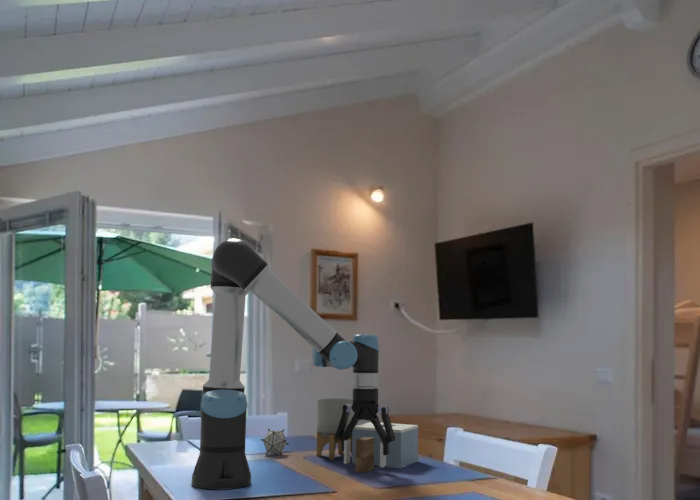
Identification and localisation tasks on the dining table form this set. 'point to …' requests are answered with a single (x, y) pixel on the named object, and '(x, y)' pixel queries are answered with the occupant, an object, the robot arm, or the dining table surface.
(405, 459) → the coin box
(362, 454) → the block
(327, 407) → the planter
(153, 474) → the dining table surface
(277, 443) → the game die
